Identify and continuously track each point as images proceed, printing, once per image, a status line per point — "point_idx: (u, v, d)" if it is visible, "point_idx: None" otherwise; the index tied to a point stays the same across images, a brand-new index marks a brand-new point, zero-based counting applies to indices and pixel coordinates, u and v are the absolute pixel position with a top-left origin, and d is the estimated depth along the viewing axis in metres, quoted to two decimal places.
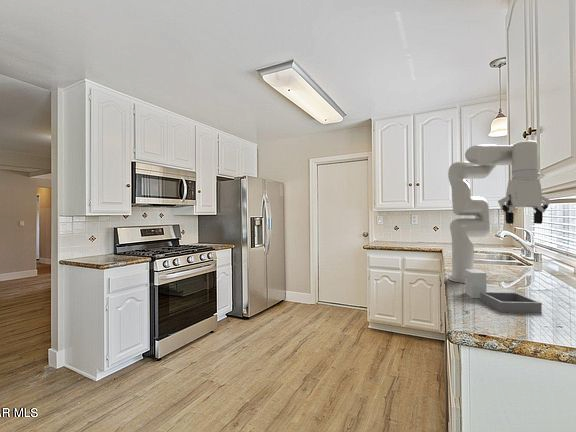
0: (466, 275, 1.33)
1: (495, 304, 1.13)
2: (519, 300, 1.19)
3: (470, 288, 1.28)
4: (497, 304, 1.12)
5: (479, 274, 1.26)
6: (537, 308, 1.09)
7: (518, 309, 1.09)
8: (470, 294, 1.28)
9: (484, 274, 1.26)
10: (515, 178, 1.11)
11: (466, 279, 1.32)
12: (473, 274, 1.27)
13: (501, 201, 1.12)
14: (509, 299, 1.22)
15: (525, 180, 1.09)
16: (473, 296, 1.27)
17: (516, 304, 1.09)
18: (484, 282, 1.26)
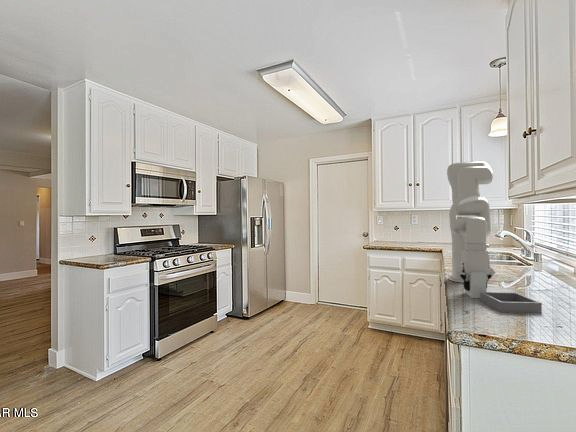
0: None
1: (495, 304, 1.13)
2: (519, 300, 1.19)
3: (470, 288, 1.28)
4: (497, 304, 1.12)
5: (479, 274, 1.26)
6: (537, 308, 1.09)
7: (518, 309, 1.09)
8: (470, 294, 1.28)
9: (484, 274, 1.26)
10: (467, 249, 1.29)
11: None
12: (473, 274, 1.27)
13: (458, 272, 1.30)
14: (509, 299, 1.22)
15: (475, 252, 1.28)
16: (473, 296, 1.27)
17: (516, 304, 1.09)
18: (484, 282, 1.26)
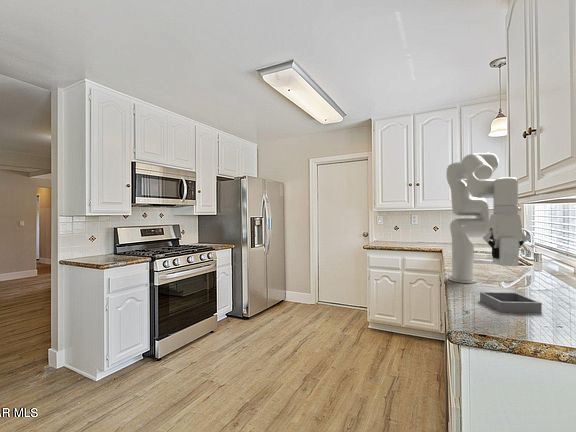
0: None
1: (495, 304, 1.13)
2: (519, 300, 1.19)
3: (500, 255, 1.15)
4: (497, 304, 1.12)
5: (510, 239, 1.13)
6: (537, 308, 1.09)
7: (518, 309, 1.09)
8: (500, 262, 1.15)
9: (516, 239, 1.13)
10: (496, 213, 1.16)
11: None
12: (503, 239, 1.14)
13: (486, 238, 1.17)
14: (509, 299, 1.22)
15: (505, 215, 1.15)
16: (503, 264, 1.14)
17: (516, 304, 1.09)
18: (516, 248, 1.13)
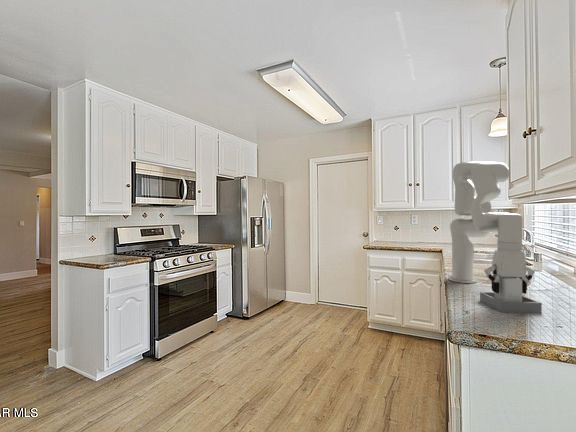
0: None
1: (495, 304, 1.13)
2: None
3: (503, 296, 1.14)
4: (497, 304, 1.12)
5: (514, 281, 1.12)
6: (537, 308, 1.09)
7: (518, 309, 1.09)
8: None
9: (520, 281, 1.12)
10: (500, 249, 1.15)
11: None
12: (507, 281, 1.12)
13: (487, 271, 1.16)
14: None
15: (510, 252, 1.13)
16: None
17: (516, 304, 1.09)
18: (520, 290, 1.12)
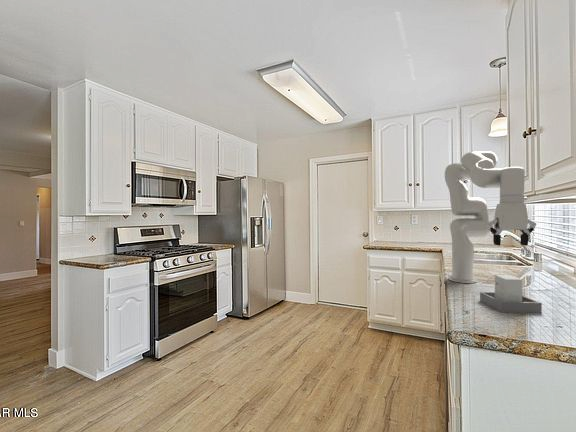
0: (497, 282, 1.18)
1: (495, 304, 1.13)
2: None
3: (503, 296, 1.14)
4: (497, 304, 1.12)
5: (514, 281, 1.12)
6: (537, 308, 1.09)
7: (518, 309, 1.09)
8: None
9: (520, 281, 1.12)
10: (502, 202, 1.17)
11: (497, 286, 1.18)
12: (507, 281, 1.12)
13: (489, 224, 1.18)
14: None
15: (512, 204, 1.15)
16: None
17: (516, 304, 1.09)
18: (520, 290, 1.12)
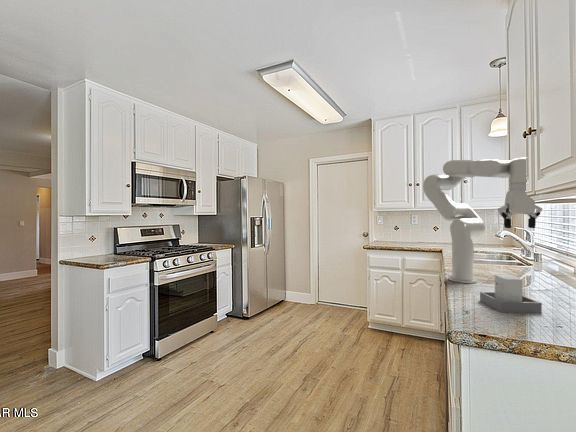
0: (497, 282, 1.18)
1: (495, 304, 1.13)
2: None
3: (503, 296, 1.14)
4: (497, 304, 1.12)
5: (514, 281, 1.12)
6: (537, 308, 1.09)
7: (518, 309, 1.09)
8: None
9: (520, 281, 1.12)
10: (512, 189, 1.31)
11: (497, 286, 1.18)
12: (507, 281, 1.12)
13: (500, 209, 1.32)
14: None
15: (521, 191, 1.29)
16: None
17: (516, 304, 1.09)
18: (520, 290, 1.12)
